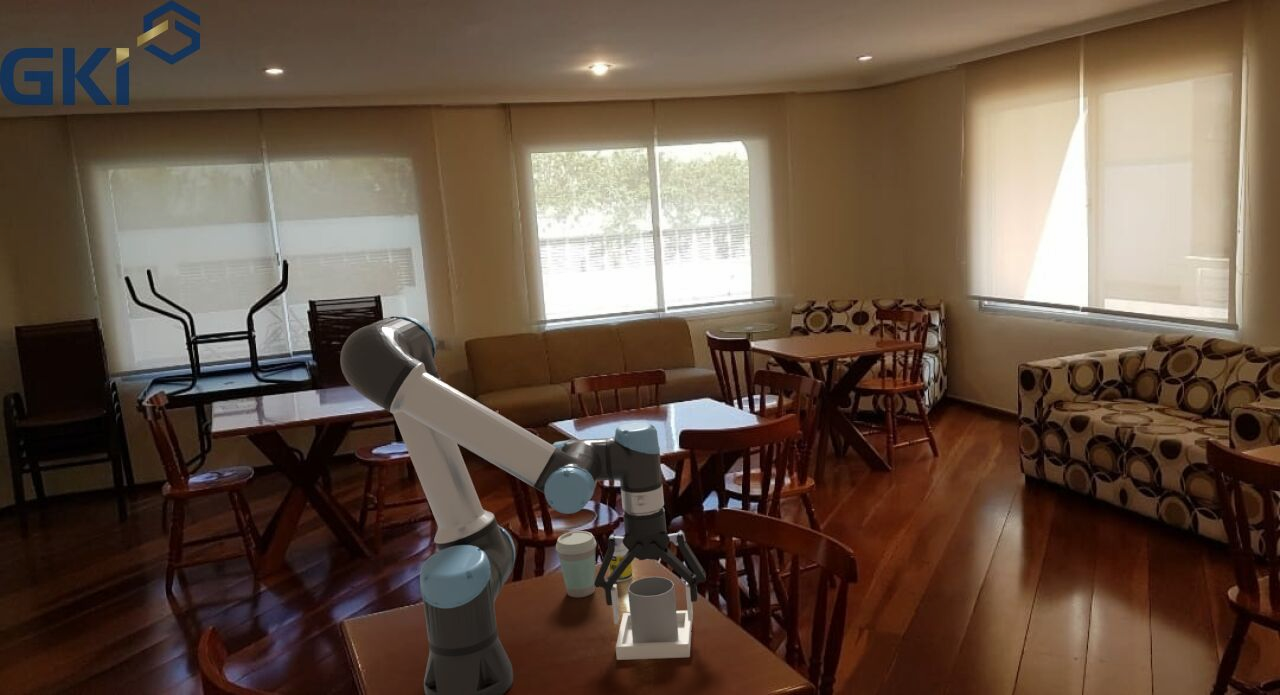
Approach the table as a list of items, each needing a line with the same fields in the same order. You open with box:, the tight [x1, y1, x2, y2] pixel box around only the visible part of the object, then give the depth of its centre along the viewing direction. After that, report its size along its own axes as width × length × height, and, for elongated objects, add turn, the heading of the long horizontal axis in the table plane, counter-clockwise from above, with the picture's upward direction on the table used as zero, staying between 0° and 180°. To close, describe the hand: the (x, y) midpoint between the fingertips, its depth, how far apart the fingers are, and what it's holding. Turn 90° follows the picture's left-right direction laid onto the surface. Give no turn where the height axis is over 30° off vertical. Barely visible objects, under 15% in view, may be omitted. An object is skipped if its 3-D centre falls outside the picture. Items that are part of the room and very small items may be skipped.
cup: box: [627, 576, 678, 643], centre depth 166 cm, size 8×8×10 cm
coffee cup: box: [555, 530, 598, 598], centre depth 190 cm, size 8×8×12 cm
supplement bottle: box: [608, 544, 633, 583], centre depth 195 cm, size 5×5×8 cm
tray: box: [615, 609, 693, 661], centre depth 167 cm, size 13×13×2 cm
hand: (653, 619), depth 166 cm, fingers open, 13 cm apart
